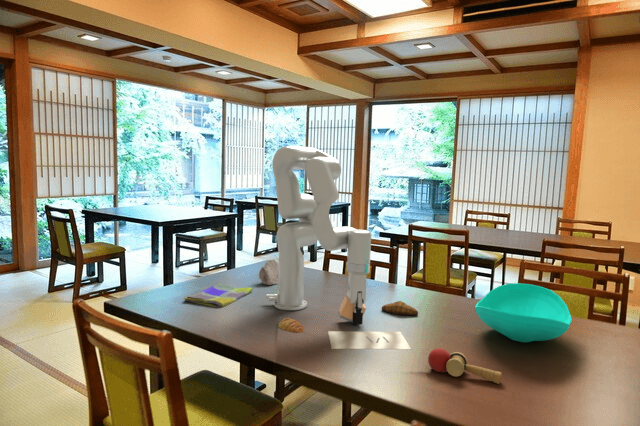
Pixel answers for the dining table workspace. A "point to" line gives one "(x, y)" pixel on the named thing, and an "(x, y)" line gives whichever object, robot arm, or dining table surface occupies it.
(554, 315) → the table top decor
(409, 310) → the croissant
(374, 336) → the ash board
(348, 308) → the block
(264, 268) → the pumice stone
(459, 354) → the kendama
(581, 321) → the dining table surface
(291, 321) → the pastry
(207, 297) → the dish towel
